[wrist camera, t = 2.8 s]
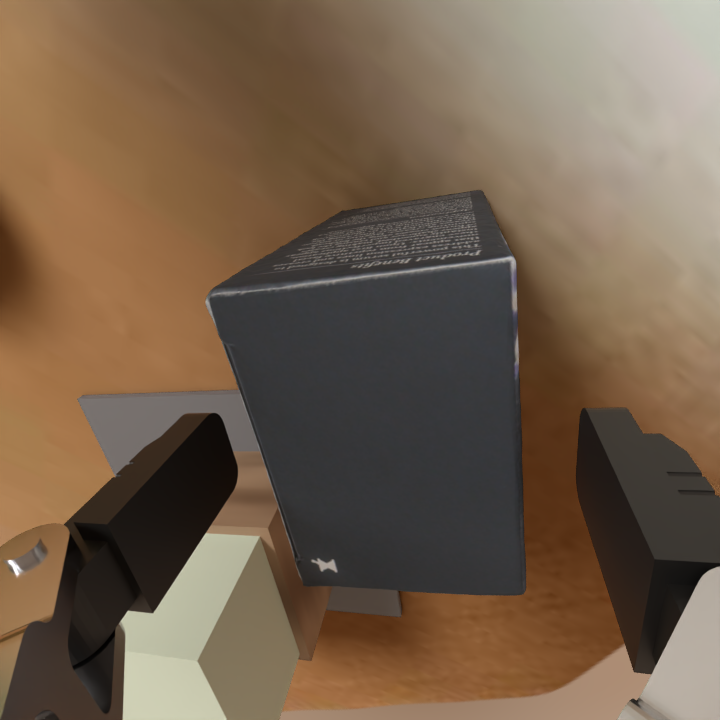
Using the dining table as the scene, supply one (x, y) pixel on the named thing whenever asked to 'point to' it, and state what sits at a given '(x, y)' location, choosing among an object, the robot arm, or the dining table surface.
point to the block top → (212, 640)
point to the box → (388, 395)
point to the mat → (161, 410)
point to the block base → (273, 548)
